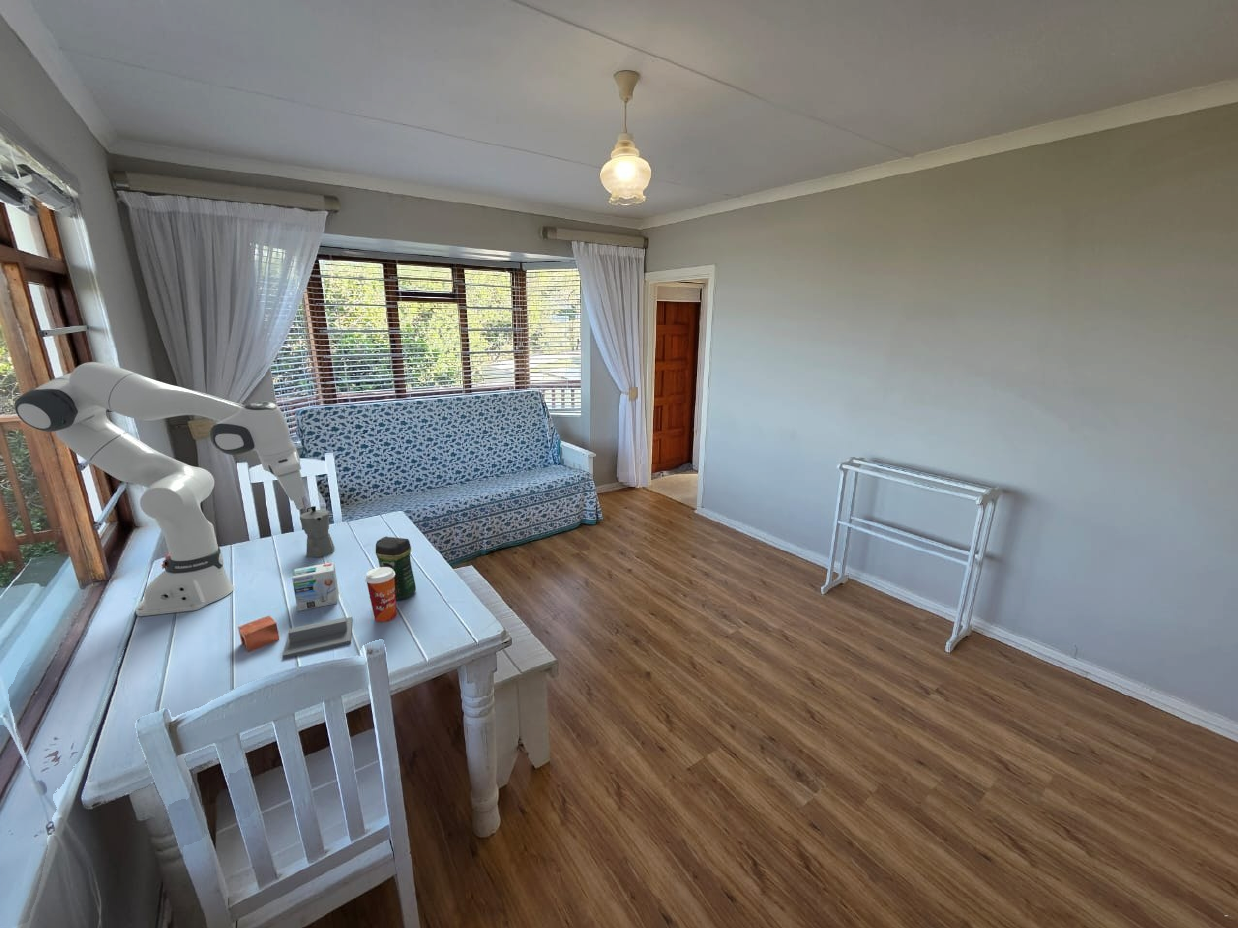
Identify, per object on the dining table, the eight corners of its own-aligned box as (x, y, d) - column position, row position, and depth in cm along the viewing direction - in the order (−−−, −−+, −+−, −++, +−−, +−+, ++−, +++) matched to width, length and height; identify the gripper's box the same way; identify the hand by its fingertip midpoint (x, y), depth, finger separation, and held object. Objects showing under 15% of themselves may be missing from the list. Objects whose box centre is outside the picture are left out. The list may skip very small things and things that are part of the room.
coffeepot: (340, 554, 181) (333, 507, 176) (311, 562, 175) (302, 514, 170) (328, 541, 192) (321, 497, 187) (300, 548, 185) (291, 503, 181)
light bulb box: (297, 611, 144) (290, 578, 142) (299, 601, 150) (293, 568, 147) (339, 603, 149) (333, 570, 146) (339, 592, 155) (334, 561, 152)
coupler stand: (283, 658, 124) (280, 644, 123) (290, 633, 134) (287, 620, 133) (351, 643, 130) (348, 629, 129) (352, 619, 141) (350, 607, 140)
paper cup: (381, 627, 137) (375, 581, 134) (365, 618, 141) (358, 574, 137) (406, 614, 144) (401, 570, 140) (390, 606, 148) (384, 563, 144)
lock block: (248, 652, 126) (244, 634, 125) (241, 643, 130) (237, 626, 129) (279, 639, 132) (276, 622, 130) (272, 631, 135) (269, 615, 134)
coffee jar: (420, 589, 157) (414, 535, 152) (404, 602, 150) (397, 545, 145) (394, 585, 159) (387, 531, 154) (376, 598, 152) (369, 542, 147)
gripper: (260, 453, 143) (277, 495, 149) (273, 473, 129) (291, 519, 135) (285, 446, 147) (301, 488, 152) (301, 465, 133) (317, 510, 138)
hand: (296, 503), depth 143 cm, fingers open, 8 cm apart
